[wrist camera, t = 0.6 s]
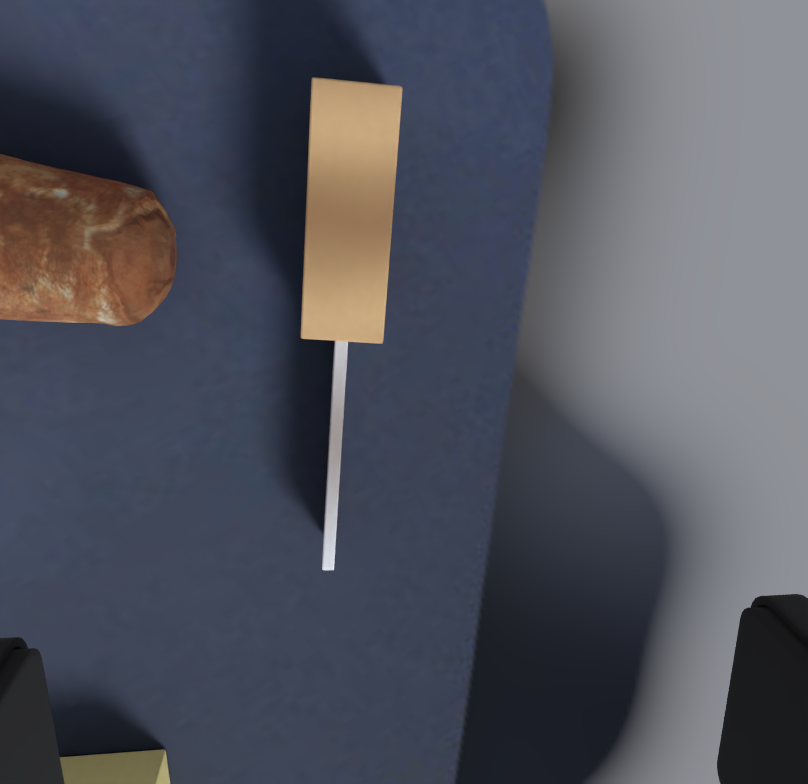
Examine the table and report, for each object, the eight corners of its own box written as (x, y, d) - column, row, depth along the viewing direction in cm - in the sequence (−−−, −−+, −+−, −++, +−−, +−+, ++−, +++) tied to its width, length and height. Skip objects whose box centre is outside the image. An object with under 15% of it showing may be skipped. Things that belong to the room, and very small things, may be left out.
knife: (361, 536, 26) (364, 584, 23) (295, 534, 26) (289, 583, 23) (393, 98, 22) (402, 85, 19) (315, 90, 22) (311, 76, 19)
